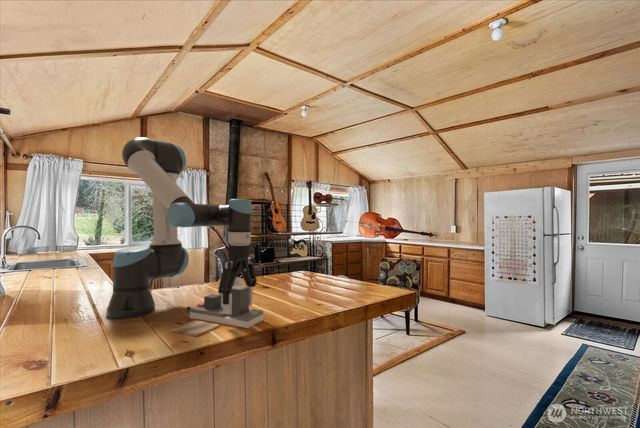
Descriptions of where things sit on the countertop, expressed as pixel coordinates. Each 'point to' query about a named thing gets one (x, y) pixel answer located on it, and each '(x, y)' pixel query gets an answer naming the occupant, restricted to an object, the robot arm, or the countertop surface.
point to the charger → (239, 300)
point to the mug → (237, 282)
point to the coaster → (195, 328)
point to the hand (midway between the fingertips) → (238, 309)
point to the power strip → (214, 313)
